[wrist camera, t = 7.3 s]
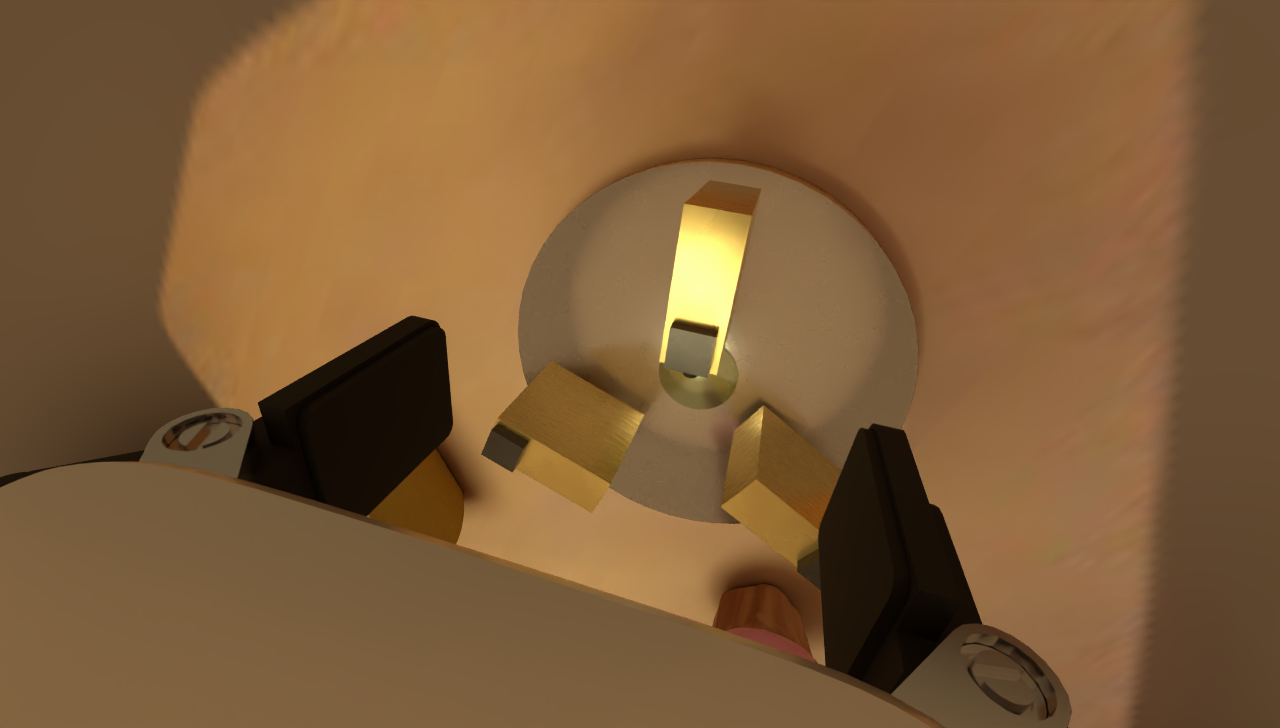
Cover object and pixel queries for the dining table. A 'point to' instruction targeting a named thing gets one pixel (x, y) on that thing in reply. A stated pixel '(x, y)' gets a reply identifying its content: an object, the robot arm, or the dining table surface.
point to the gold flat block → (707, 275)
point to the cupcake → (763, 619)
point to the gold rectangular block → (564, 435)
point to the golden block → (779, 488)
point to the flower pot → (426, 502)
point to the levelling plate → (758, 336)
